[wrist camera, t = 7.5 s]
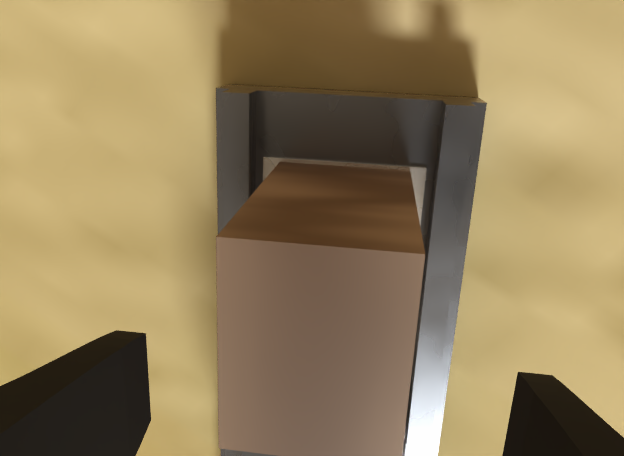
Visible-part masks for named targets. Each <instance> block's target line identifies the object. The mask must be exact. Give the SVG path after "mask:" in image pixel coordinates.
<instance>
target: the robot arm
mask: <svg viewBox="0 0 624 456" xmlns="http://www.w3.org/2000/svg"><path fill="white" fill-rule="evenodd" d="M150 421H151V412H150V396H149V379H148V363H147V346H146V333H136V332H126V331H114V332H112V333H109V334H107V335H104V336H102V337H100V338H98V339H96V340H94V341H91V342H89V343H87V344H85V345H83V346H81V347H79V348H77V349H75V350H73V351H71V352H69V353H67V354H66V355H64V356H62V357H60V358H58V359H56V360H54V361H52V362H50V363H48V364H46V365H44V366H42V367H40V368H38V369H36V370H34V371H32V372H30V373H28V374H26V375H24V376H21V377H19V378H17V379H15V380H13V381H11V382H8V383H6V384H4V385H2V386H0V456H136V453H137V451H138V449H139V447H140V445H141V442H142V440H143V438H144V435H145V433H146V430H147V428H148V426H149V423H150ZM503 456H624V438H623V437H622V436H621V435H620V434H619V433H618V432H616V431H615V430H614V429H613V428H612V427H611V426H610V425H608V424H607V423H606V422H605V421H604V420H603V419H602V418H601V417H599V416H598V415H597V414H596V413H595V412H594V411H593V410H592V409H591V408H589V407H588V406H587V405H586V404H585V403H584V402H583V401H582V400H580V399H579V398H578V397H577V396H576V395H575V394H574V393H573V392H571V391H570V390H569V389H568V388H567V387H566V386H565V385H563V384H562V383H561V382H560V381H559V380H557V379H556V378H555V377H554V376H552V375H544V374H534V373H524V372H518V375H517V380H516V386H515V391H514V397H513V402H512V407H511V413H510V418H509V424H508V429H507V434H506V440H505V445H504V451H503Z"/></svg>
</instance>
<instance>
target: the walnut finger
mask: <svg viewBox="0 0 624 456" xmlns="http://www.w3.org/2000/svg"><path fill="white" fill-rule="evenodd" d="M216 258H217V341H218V425H219V448H220V449H228V450H237V451H242V456H402V451H403V442H404V434H405V425H406V416H407V408H408V399H409V391H410V382H411V373H412V365H413V356H414V347H415V339H416V330H417V322H418V313H419V304H420V296H421V287H422V279H423V270H424V261H425V250H424V244H423V239H422V233H421V228H420V222H419V216H418V211H417V205H416V200H415V194H414V188H413V183H412V177H411V172H410V171H407V170H393V169H379V168H364V167H350V166H335V165H321V164H307V163H292V162H279V163H278V164H277V166H276V167H275V168H274V169H273V170H272V171H271V173H270V174H269V175H268V176H267V177H266V179H265V180H264V181H263V182H262V183H261V184H260V186H259V187H258V188H257V189H256V190H255V192H254V193H253V194H252V195H251V196H250V197H249V199H248V200H247V201H246V202H245V203H244V205H243V206H242V207H241V208H240V209H239V210H238V212H237V213H236V214H235V215H234V216H233V218H232V219H231V220H230V221H229V222H228V223H227V225H226V226H225V227H224V228H223V229H222V231H221V232H220V233H219V234H218V235H217V236H216Z"/></svg>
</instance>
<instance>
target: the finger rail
mask: <svg viewBox="0 0 624 456" xmlns="http://www.w3.org/2000/svg"><path fill="white" fill-rule="evenodd" d="M486 104H487V103H486V102H484V101H483V100H481V99H480V98H475V97H456V96H438V95H419V94H401V93H382V92H364V91H345V90H327V89H309V88H290V87H272V86H253V85H235V84H228V85H225V86H221V87H218V88H216V120H217V198H218V234H219V233H220V232H221V231H222V229H223V228H224V227H225V226H226V225H227V223H228V222H229V221H230V220H231V219H232V218H233V216H234V215H235V214H236V213H237V212H238V210H239V209H240V208H241V207H242V206H243V205H244V203H245V202H246V201H247V200H248V199H249V197H250V196H251V195H252V194H253V193H254V192H255V190H256V189H257V188H258V187H259V186H260V184H261V183H262V182H263V181H264V180H265V179H266V177H267V176H268V175H269V174H270V173H271V171H272V170H273V169H274V168H275V167H276V166H277V164H278V163H279V162H292V163H307V164H321V165H335V166H350V167H364V168H379V169H393V170H407V171H410V172H411V177H412V183H413V188H414V194H415V200H416V205H417V211H418V216H419V222H420V228H421V233H422V239H423V244H424V250H425V261H424V270H423V279H422V287H421V296H420V304H419V313H418V322H417V330H416V339H415V347H414V356H413V365H412V373H411V382H410V391H409V399H408V408H407V416H406V425H405V434H404V442H403V451H402V456H438V449H439V442H440V435H441V428H442V421H443V413H444V406H445V399H446V392H447V385H448V377H449V370H450V363H451V356H452V349H453V341H454V334H455V327H456V320H457V313H458V305H459V298H460V291H461V284H462V277H463V269H464V262H465V255H466V248H467V241H468V233H469V226H470V219H471V212H472V205H473V197H474V190H475V183H476V176H477V169H478V161H479V154H480V147H481V140H482V133H483V125H484V118H485V111H486ZM221 456H242V451H237V450H228V449H221Z"/></svg>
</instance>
